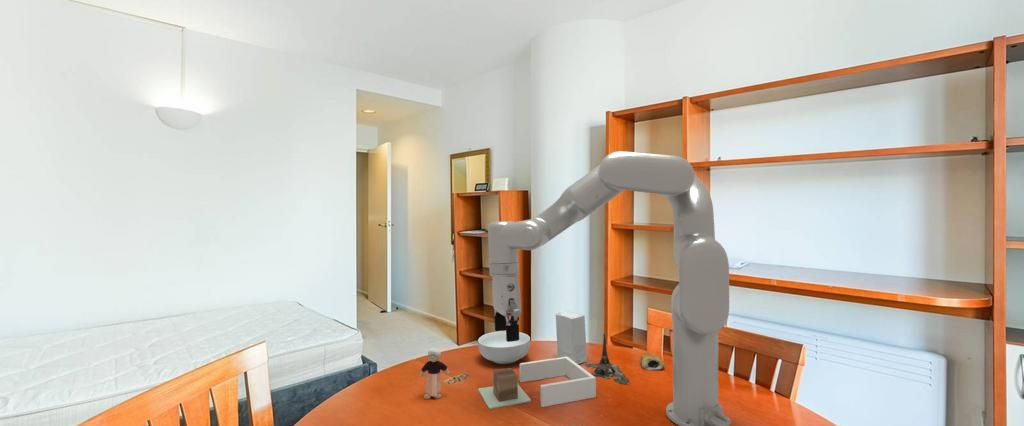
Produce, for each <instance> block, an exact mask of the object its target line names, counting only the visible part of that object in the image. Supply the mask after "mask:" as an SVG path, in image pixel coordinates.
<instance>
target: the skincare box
mask: <svg viewBox="0 0 1024 426" xmlns="http://www.w3.org/2000/svg"><path fill="white" fill-rule="evenodd" d="M585 317H586V316H585V314H579V313H576V312H572V311H569V310H567V311H563V312H559V313H555V325H556V327H555V329H556V331H555V332H556V348H557V358H560V357H568V358H570V359H571V360H573V361H574V362H575V363H577V364H578V365H579V364H583V363H587V362H588V356H587V337H586V336H587V334H586V320H585V319H586V318H585Z"/></svg>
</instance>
